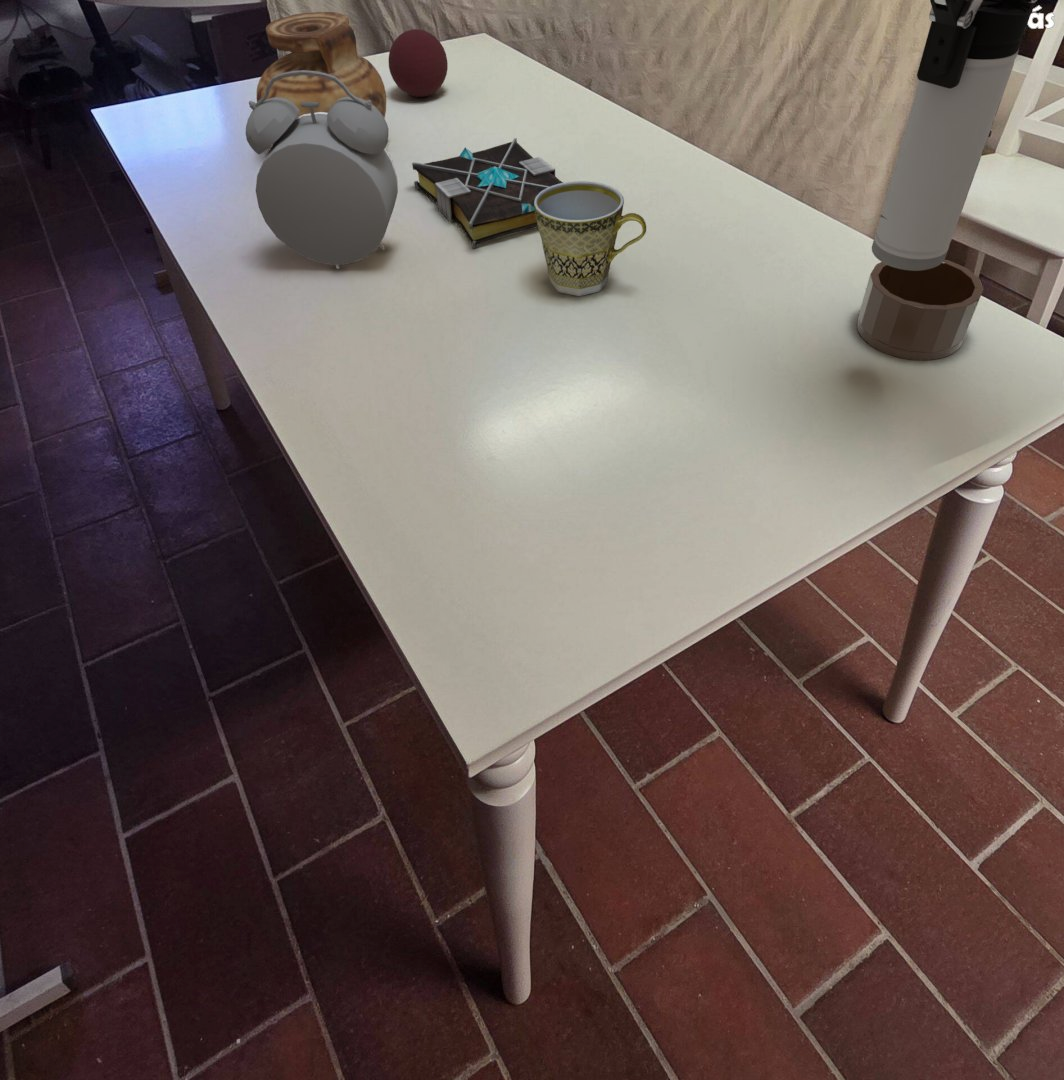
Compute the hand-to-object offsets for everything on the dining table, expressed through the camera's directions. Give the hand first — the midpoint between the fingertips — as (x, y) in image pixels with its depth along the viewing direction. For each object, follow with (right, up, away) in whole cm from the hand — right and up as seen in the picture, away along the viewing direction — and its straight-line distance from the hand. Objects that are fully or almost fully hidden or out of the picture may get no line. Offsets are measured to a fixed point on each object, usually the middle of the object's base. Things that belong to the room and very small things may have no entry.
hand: (965, 69), depth 63 cm
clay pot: (-64, +25, +66) cm, 95 cm away
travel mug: (0, -11, +11) cm, 15 cm away
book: (-38, +10, +51) cm, 65 cm away
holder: (+8, -13, +26) cm, 30 cm away
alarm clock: (-57, 0, +42) cm, 71 cm away
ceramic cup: (-26, -6, +36) cm, 45 cm away
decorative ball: (-52, +41, +81) cm, 105 cm away
